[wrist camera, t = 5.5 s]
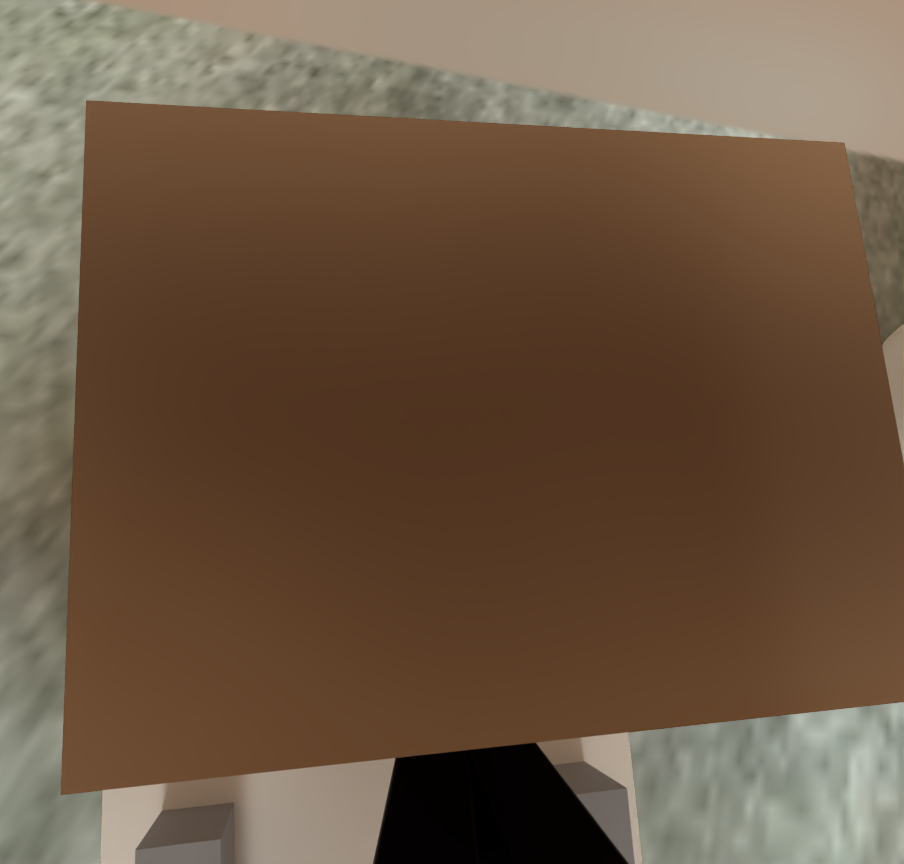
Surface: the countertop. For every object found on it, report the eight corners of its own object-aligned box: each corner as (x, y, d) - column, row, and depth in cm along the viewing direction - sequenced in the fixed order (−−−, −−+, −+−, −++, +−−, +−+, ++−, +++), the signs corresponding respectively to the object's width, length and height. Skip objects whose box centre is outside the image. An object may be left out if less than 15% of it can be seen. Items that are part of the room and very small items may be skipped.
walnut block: (503, 622, 18) (947, 698, 5) (246, 642, 17) (60, 795, 4) (489, 439, 19) (844, 142, 6) (244, 446, 18) (85, 100, 5)
